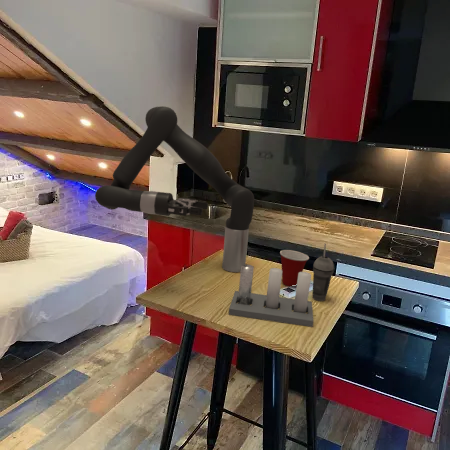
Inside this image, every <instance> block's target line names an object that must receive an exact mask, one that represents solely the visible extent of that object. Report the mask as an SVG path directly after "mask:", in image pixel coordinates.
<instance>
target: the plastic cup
mask: <svg viewBox="0 0 450 450" xmlns="http://www.w3.org/2000/svg"><path fill="white" fill-rule="evenodd" d="M279 254H280V261H281V270H282V279H281V283H282V284H283V285H284V286H285V287H286V286H287V287H290V286H292V285H296V284H297V280H298V273H299V272H304V271H303V270H304V268H305V266H306V263H307V261H308V260H309V259H310V257H309V255H308V254H306V253H303V252H300V251H296V250H290V249H284V250H280V252H279Z"/></svg>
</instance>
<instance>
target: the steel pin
mask: <svg viewBox="0 0 450 450" xmlns="http://www.w3.org/2000/svg"><path fill="white" fill-rule="evenodd" d="M254 269H255V267H254V265H252V264H246V263H245V264H244V265H241V272H239V286H238V291H239V295H238V302H237V304H244V305H250V306H251V304H250V299H251V293H252V289H253V278H254Z"/></svg>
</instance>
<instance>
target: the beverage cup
mask: <svg viewBox="0 0 450 450" xmlns="http://www.w3.org/2000/svg"><path fill="white" fill-rule="evenodd" d="M326 248H327V243H324V247H323V255H321V256H319V257H318V258H316V260H315V261H314V262H313V265H312V273H313V278H312V299H313V300H315V301H318V302H324V301H326V298H327V295H328V291H329V288H330V282H331V280H332V276H333V274H334V271H335V266H334V262H333V260H332V259H331V258H330V257H328V256H326Z"/></svg>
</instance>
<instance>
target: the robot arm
mask: <svg viewBox="0 0 450 450" xmlns="http://www.w3.org/2000/svg"><path fill="white" fill-rule="evenodd" d="M145 124H146V126H147V128H146V129H145V132H144V133H143V134H142V136H141V138H140V139H139V140H138V141H137V142H136V144H135V145H133V147H132V148H131V149H130V150H129V151H128V152H127V153H126V154H124V157H123V158H122V159H121V161H120V162H119V164H118V165H117V167H116V168H115V170H114V171H113V172H112V173H113V174H112V179H113V181H112V183H110V184H111V185H102V186H101V187H99V188H97V190H96V192H95V194H94V195H95V196H94V197H95V201H96V202H97V204H99V205H100V206H102V207H104V208H106V209H108V210H116V209H118V208H119V209H125V210H127V211H132V212H137V213H138V212H139V213H145V214H149V215H156V216H157V215H158V216H166V217H169V216H170V215H178V216H184V217H186V216H188V215H189V216H190V215H197V216H202V215H203V210H207V209H208V207H209V203H208V202H205V201H198V200H197V199H196V198H187V197H186V198H185V197H179V198H177V199H174V195H173V194H172V193H170V192H164V191H163V192H162V191H153V190H148V191H147V190H138V189H130V188H131V185H132V184H134V182H135V180H136V178H137V176H138V175H139V174H140V172H141V171H142V169H143V168H144V166H145V165H146V163H147V162H148V161H149V159H150V158H151V156H152V155H153V154H154V153H155V151H156V150H157V149H158V148H159V147H160V146H161V144H162V143H163V142H165V143H166V144H167V145H168V146H169V147H170V148H171V149H172V150H173V151H174V152H175V153H176V154H177V156H179V158H180V159H181V160H182V161H183V162H184V163H185V164H186V165H187V166H188V167H189V168H190V169H191V170H192V171H193V173H195V174H196V175H197V176H199V178H201V180H203V181H204V182H205V183H207V184H208V185H209V186H211V187H212V188H213V189H215V191H216V192H217V193H218V195H219V196H220V197H221V198H222V199H223V200H224V202H225V203H226V204H227V206H228V207H230V208H231V210H230V216H229V217H228V218H226V220H225V228H224V241H223V243H224V244H223V255H222V264H221V265H222V266H221V267H222V269H223V270H225V271H226V272H231V273H241V265H244V264H246V263H247V253H248V252H247V251H248V242H249V233H250V232H249V231H250V224H251V223H252V221H253V216H254V215H253V214H254V209H255V207H254V206H255V196H254V194H253V192H252V191H251V190H250V189H248V188H247V187H244V186H242V185H241V184H239V183H237V182H236V181H235V180H234V179H233V178H231V177H230V176H229V175H228V174H227V173H226V171H225V170H224V168H223V166H222V164H221V163H220V161H219V160H218V159H217V157H216V156H215V155H214V154H213V153H212V151H210V150H209V149H208V148H207V147H206V146H205V145H203V144H202V143H201V142H200V141H198V140H197V139H195V138H194V137H192V136H190V135H189V134H188V133H186V132H185V131H184V130H183V129H182V128H181V127H180V126H179V124H178V116H177V113H176V112H175V111H174V109H173V108H171V107H169V106H155V107H154V106H153V107H152V108H150V109H148V111H147V112H146V114H145Z"/></svg>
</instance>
